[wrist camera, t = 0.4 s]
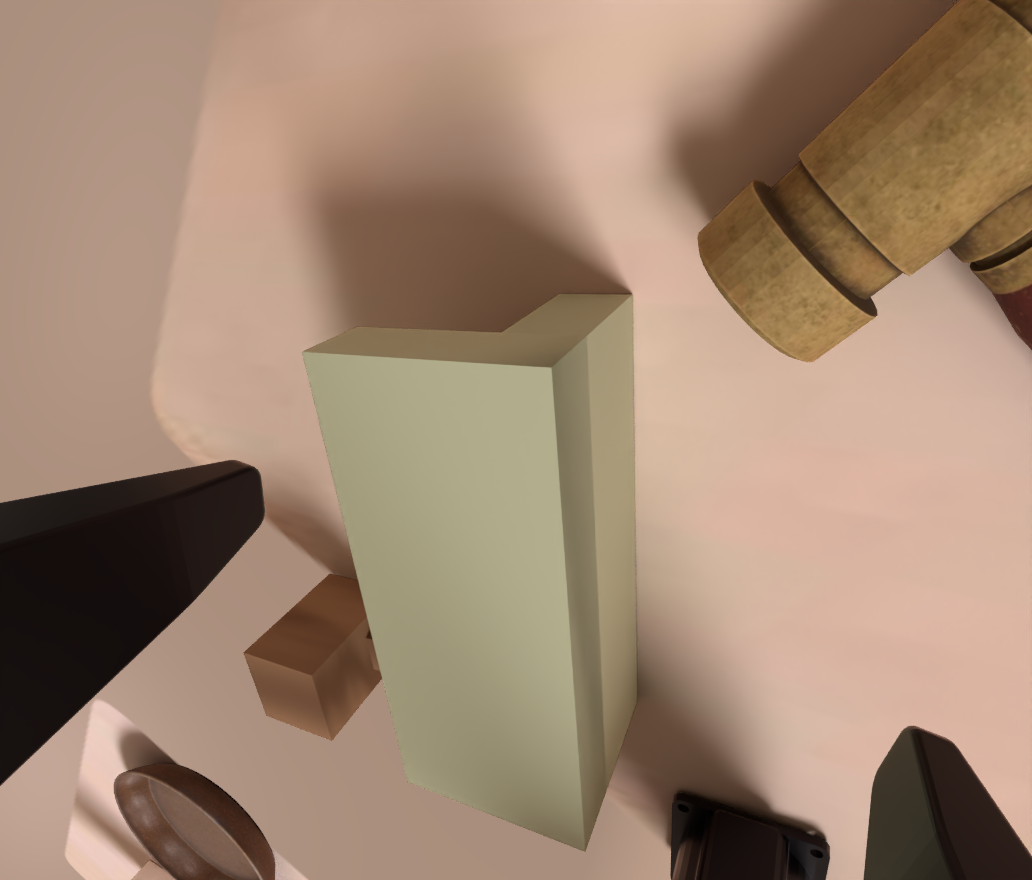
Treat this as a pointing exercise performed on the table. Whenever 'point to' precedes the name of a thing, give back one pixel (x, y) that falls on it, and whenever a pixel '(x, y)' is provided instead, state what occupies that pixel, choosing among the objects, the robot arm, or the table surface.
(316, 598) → the pusher tool
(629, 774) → the table surface
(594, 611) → the plinth shelf
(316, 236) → the table surface
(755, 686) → the table surface
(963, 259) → the gavel
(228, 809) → the plant saucer
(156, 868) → the milk
